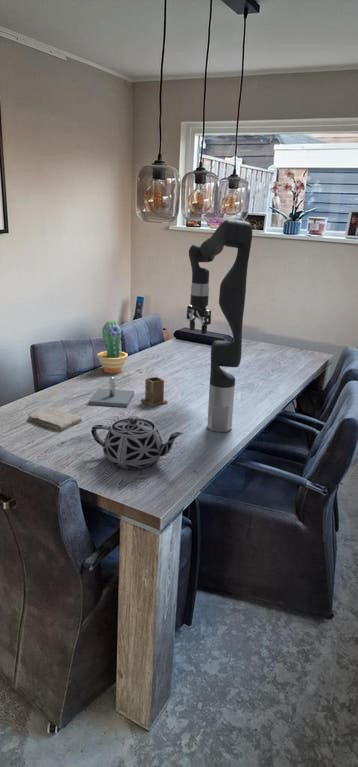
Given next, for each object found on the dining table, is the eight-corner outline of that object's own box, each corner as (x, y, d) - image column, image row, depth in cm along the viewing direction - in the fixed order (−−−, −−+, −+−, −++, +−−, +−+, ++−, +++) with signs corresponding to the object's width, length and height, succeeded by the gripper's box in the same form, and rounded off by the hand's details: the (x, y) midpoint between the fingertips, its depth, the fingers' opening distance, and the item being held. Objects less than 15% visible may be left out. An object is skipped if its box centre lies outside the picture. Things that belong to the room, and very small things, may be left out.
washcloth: (49, 411, 203) (48, 404, 202) (83, 422, 195) (83, 414, 194) (26, 421, 194) (25, 413, 193) (61, 432, 185) (60, 424, 184)
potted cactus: (92, 373, 251) (91, 322, 244) (102, 364, 266) (102, 316, 258) (123, 375, 249) (123, 325, 241) (131, 367, 264) (132, 319, 256)
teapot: (174, 482, 153) (176, 436, 148) (79, 466, 160) (78, 422, 155) (189, 455, 171) (191, 413, 166) (103, 442, 178) (102, 401, 173)
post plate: (127, 407, 210) (127, 384, 207) (88, 404, 211) (88, 381, 208) (134, 394, 225) (134, 372, 222) (98, 391, 226) (98, 370, 223)
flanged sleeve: (167, 403, 216) (168, 380, 212) (151, 406, 211) (151, 383, 208) (157, 397, 222) (157, 375, 219) (141, 400, 217) (141, 378, 214)
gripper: (217, 295, 211) (214, 334, 216) (197, 291, 222) (195, 327, 227) (202, 296, 207) (200, 336, 212) (182, 291, 218) (181, 329, 223)
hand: (197, 331), depth 220 cm, fingers open, 8 cm apart
